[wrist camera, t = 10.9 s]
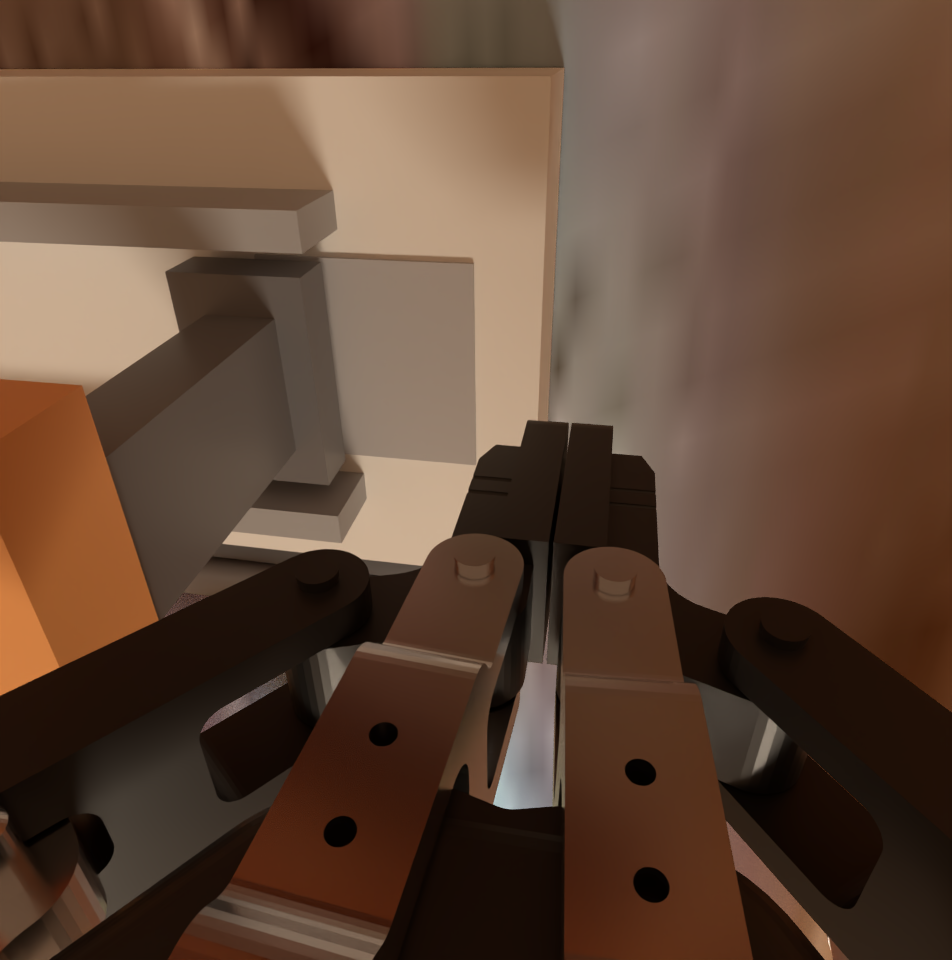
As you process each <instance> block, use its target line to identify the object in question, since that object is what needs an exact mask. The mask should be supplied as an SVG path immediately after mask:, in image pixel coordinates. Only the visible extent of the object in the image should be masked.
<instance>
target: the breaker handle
mask: <svg viewBox="0 0 952 960" xmlns="http://www.w3.org/2000/svg"><path fill="white" fill-rule="evenodd" d="M165 274H166V278H167V282H168V287H169V291H170V295H171V299H172V303H173V308H174V312H175V316H176V320H177V324H178V329H179V333H177V334H176V335H175V336H173V337H172V338H170V339H169V340H167V341H166V342H164V343H163V344H161V345H160V346H158V347H157V348H155V349H154V350H152V351H151V352H150V353H148V354H147V355H145V356H144V357H142V358H141V359H139V360H138V361H136V362H135V363H133V364H132V365H130V366H129V367H127V368H126V369H125V370H123V371H122V372H120V373H119V374H117V375H116V376H114V377H113V378H111V379H110V380H108V381H107V382H105V383H104V384H102V385H101V386H100V387H98V388H97V389H95V390H94V391H92V392H91V393H89V394H88V395H86V396H85V393H84V390H83V387H82V385H71V384H58V383H45V382H31V381H18V380H5V379H0V695H3V694H5V693H7V692H9V691H11V690H13V689H15V688H17V687H19V686H22V685H24V684H26V683H28V682H30V681H32V680H34V679H36V678H38V677H41V676H43V675H45V674H47V673H49V672H51V671H53V670H55V669H57V668H60V667H62V666H64V665H66V664H68V663H70V662H72V661H74V660H76V659H78V658H81V657H83V656H85V655H87V654H89V653H91V652H93V651H95V650H97V649H100V648H102V647H104V646H106V645H108V644H110V643H112V642H114V641H116V640H119V639H121V638H123V637H125V636H127V635H129V634H131V633H133V632H135V631H138V630H140V629H142V628H144V627H146V626H148V625H150V624H152V623H154V622H156V621H159V620H161V619H163V618H164V616H165V615H166V614H167V613H168V611H169V610H170V609H171V608H172V606H173V605H174V604H175V602H176V601H177V600H178V599H179V597H180V596H181V595H182V594H183V592H184V591H185V590H186V589H187V587H188V586H189V585H190V584H191V582H192V581H193V580H194V579H195V577H196V576H197V575H198V573H199V572H200V571H201V570H202V568H203V567H204V566H205V565H206V563H207V562H208V561H209V560H210V558H211V557H212V556H213V555H214V553H215V552H216V551H217V549H218V548H219V547H220V546H221V544H222V543H223V542H224V541H225V539H226V538H227V537H228V536H229V534H230V533H231V532H232V531H233V529H234V528H235V527H236V526H237V524H238V523H239V522H240V520H241V519H242V518H243V517H244V515H245V514H246V513H247V512H248V510H249V509H250V508H251V507H252V505H253V504H254V503H255V502H256V500H257V499H258V498H259V497H260V495H261V494H262V493H263V491H264V490H265V489H266V488H267V486H268V485H269V484H270V483H271V481H272V480H278V481H288V482H299V483H309V484H320V485H330V483H331V482H332V480H333V478H334V477H335V475H336V474H337V472H338V471H339V469H340V468H341V466H342V465H343V463H344V462H345V460H346V459H345V451H344V443H343V435H342V427H341V419H340V411H339V403H338V395H337V386H336V378H335V370H334V362H333V354H332V346H331V338H330V330H329V321H328V313H327V305H326V297H325V289H324V281H323V273H322V265H321V262H315V261H291V260H267V259H244V258H220V257H197V256H194V257H192V258H190V259H188V260H186V261H184V262H182V263H180V264H179V265H177V266H175V267H173V268H171V269H169V270H167V271H165Z"/></svg>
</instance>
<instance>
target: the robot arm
mask: <svg viewBox="0 0 952 960" xmlns="http://www.w3.org/2000/svg"><path fill="white" fill-rule="evenodd" d="M568 430H569V423H565V422H551V421H538V420H528V421H527V423H526V427H525V431H524V435H523V439H522V442H521V446H508V445H495V446H494V447H492V448H491V449H490V450H489V451H488V452H486V453H485V454H484V455H483V456H481V457H480V458H479V460H478V463H477V466H476V469H475V472H474V474H473V479H472V480H471V483H470V486H469V489H468V493H467V494H466V497H465V500H464V503H463V506H462V509H461V512H460V514H459V517H458V520H457V523H456V526H455V529H454V532H453V534H452V537H451V538H449V539H446V540H444V541H442V542H441V543H439V544H438V545H436V546H435V547H434V548H433V549H432V550H431V551H430V553H429V554H428V556H427V558H426V560H425V562H424V564H423V566H422V568H419V569H417V570H413V571H409V572H405V573H399V574H391V575H382V576H374V577H370V576H369V571H368V567H367V566H366V564H365V563H364V562H363V561H362V560H361V559H360V558H359V557H357V556H356V555H354V554H352V553H349V552H346V551H342V550H336V549H319V550H313V551H308V552H304V553H301V554H299V555H296V556H294V557H291V558H289V559H287V560H285V561H283V562H281V563H279V564H277V565H275V566H272V567H270V568H268V569H266V570H264V571H262V572H260V573H258V574H256V575H253V576H251V577H249V578H247V579H245V580H243V581H241V582H239V583H237V584H234V585H232V586H230V587H228V588H226V589H224V590H222V591H220V592H218V593H216V594H213V595H211V596H209V597H207V598H205V599H203V600H201V601H199V602H197V603H194V604H192V605H190V606H188V607H186V608H184V609H182V610H180V611H178V612H175V613H173V614H171V615H169V616H167V617H165V618H163V619H161V620H159V621H156V622H154V623H152V624H150V625H148V626H146V627H144V628H142V629H140V630H138V631H135V632H133V633H131V634H129V635H127V636H125V637H123V638H121V639H119V640H116V641H114V642H112V643H110V644H108V645H106V646H104V647H102V648H100V649H97V650H95V651H93V652H91V653H89V654H87V655H85V656H83V657H81V658H78V659H76V660H74V661H72V662H70V663H68V664H66V665H64V666H62V667H60V668H57V669H55V670H53V671H51V672H49V673H47V674H45V675H43V676H41V677H38V678H36V679H34V680H32V681H30V682H28V683H26V684H24V685H22V686H19V687H17V688H15V689H13V690H11V691H9V692H7V693H5V694H3V695H0V960H824V958H823V957H822V956H821V955H820V953H819V952H818V951H817V950H816V949H815V947H814V946H813V945H812V944H811V942H810V941H809V940H808V939H807V937H806V936H805V935H804V934H803V933H802V931H801V930H800V929H799V928H798V926H797V925H796V924H795V923H794V922H793V921H792V920H791V918H790V917H789V916H788V915H787V914H786V913H785V912H784V911H783V910H782V909H781V908H780V907H779V906H778V905H777V904H776V903H775V902H774V901H773V900H772V899H771V898H770V897H769V896H768V895H767V894H766V893H765V892H764V891H762V890H761V889H760V888H759V887H757V886H756V885H755V884H754V883H753V882H751V881H750V880H749V879H748V878H746V877H745V876H743V875H742V874H741V873H739V872H738V871H736V870H735V865H734V860H733V855H732V850H731V845H730V840H729V835H728V830H727V824H726V821H727V822H728V823H729V824H730V825H731V826H732V828H733V829H734V830H735V831H736V832H737V833H738V834H739V836H740V837H741V838H742V839H743V840H744V841H745V842H746V843H747V845H748V846H749V847H750V848H751V849H752V850H753V851H754V853H755V854H756V855H757V856H758V857H759V858H760V859H761V861H762V862H763V863H764V864H765V865H766V866H767V867H768V868H769V870H770V871H771V872H772V873H773V874H774V875H775V876H776V878H777V879H778V880H779V881H780V882H781V883H782V884H783V886H784V887H785V888H786V889H787V890H788V891H789V892H790V893H791V895H792V896H793V897H794V898H795V899H796V900H797V901H798V903H799V904H800V905H801V906H802V907H803V908H804V909H805V911H806V912H807V913H808V914H809V915H810V916H811V917H812V918H813V920H814V921H815V922H816V923H817V924H818V925H819V926H820V928H821V929H822V930H823V931H824V932H825V933H826V934H827V938H828V943H829V946H830V949H831V951H832V956H833V960H952V712H950V711H949V710H948V709H946V708H945V707H943V706H942V705H941V704H939V703H938V702H937V701H935V700H934V699H933V698H931V697H930V696H929V695H927V694H926V693H925V692H923V691H922V690H921V689H919V688H918V687H917V686H915V685H914V684H913V683H911V682H910V681H908V680H907V679H906V678H904V677H903V676H902V675H900V674H899V673H898V672H896V671H895V670H894V669H892V668H891V667H890V666H888V665H887V664H886V663H884V662H883V661H882V660H880V659H879V658H878V657H876V656H875V655H873V654H872V653H871V652H869V651H868V650H867V649H865V648H864V647H863V646H861V645H860V644H859V643H857V642H856V641H855V640H853V639H852V638H851V637H849V636H848V635H847V634H845V633H844V632H843V631H841V630H840V629H838V628H837V627H836V626H834V625H833V624H832V623H830V622H829V621H828V620H826V619H825V618H824V617H822V616H821V615H819V614H818V613H816V612H815V611H813V610H811V609H809V608H807V607H805V606H803V605H800V604H798V603H795V602H792V601H788V600H784V599H779V598H769V597H761V598H752V599H748V600H745V601H742V602H740V603H738V604H736V605H735V606H733V607H732V608H731V609H730V610H729V612H728V613H727V615H726V614H723V613H720V612H717V611H714V610H711V609H708V608H705V607H702V606H700V605H697V604H695V603H693V602H691V601H689V600H687V599H685V598H684V597H682V596H681V595H679V594H678V593H677V592H675V591H674V590H673V589H672V588H671V587H670V586H669V585H668V584H667V582H666V578H665V575H664V573H663V572H662V570H661V569H660V568H659V556H658V534H657V512H656V495H655V491H656V490H655V473H654V471H653V470H652V469H651V468H650V466H649V465H648V464H647V462H646V461H645V460H644V459H643V457H642V456H634V455H622V454H612V440H613V426H607V425H593V424H580V423H572V425H571V432H570V438H569V445H568ZM567 447H568V452H567ZM549 612H550V614H549ZM548 620H549V632H548V649H547V664H553V665H557V678H556V692H555V707H554V749H553V800H552V807H541V808H529V809H516V810H510V809H503V808H500V807H497V806H495V805H493V802H494V798H495V794H496V790H497V787H498V783H499V779H500V775H501V772H502V768H503V764H504V760H505V756H506V753H507V749H508V745H509V741H510V738H511V734H512V730H513V726H514V723H515V719H516V715H517V711H518V707H519V702H520V689H521V687H522V686H523V683H524V679H525V673H526V667H527V662H535V663H542V662H543V655H544V648H545V641H546V634H547V627H548ZM285 671H286V676H287V681H288V683H287V684H285V685H283V686H282V687H280V688H278V689H276V690H275V691H273V692H271V693H270V694H268V695H266V696H264V697H263V698H261V699H259V700H257V701H256V702H254V703H252V704H251V705H249V706H247V707H245V708H244V709H242V710H240V711H238V712H237V713H235V714H233V715H232V716H230V717H228V718H226V719H225V720H223V721H221V722H220V723H218V724H216V725H214V726H213V727H211V728H209V729H207V730H206V731H204V732H202V733H201V730H202V728H203V726H204V724H205V723H206V721H207V720H208V719H209V718H210V717H211V716H212V715H213V714H214V713H215V712H216V711H218V710H219V709H221V708H222V707H224V706H226V705H228V704H229V703H231V702H233V701H235V700H236V699H238V698H240V697H242V696H243V695H245V694H247V693H249V692H250V691H252V690H254V689H256V688H257V687H259V686H261V685H263V684H264V683H266V682H268V681H270V680H271V679H273V678H275V677H277V676H278V675H280V674H282V673H284V672H285ZM808 755H809V756H810V757H811V758H813V759H814V760H815V761H816V762H817V763H818V764H819V765H820V766H821V767H822V768H823V769H824V770H825V771H826V772H828V773H829V774H830V775H831V776H832V777H833V778H834V779H835V780H836V781H837V782H838V783H839V784H840V785H842V786H843V787H844V788H845V789H846V790H847V791H848V792H849V793H850V794H851V795H852V796H853V797H854V798H855V799H857V800H858V801H859V802H860V803H861V804H862V805H863V806H864V807H865V808H866V809H867V810H866V809H865V808H864V807H863V806H862V805H861V804H860V803H859V802H857V801H856V800H855V799H854V798H853V797H852V796H851V795H850V794H849V793H848V792H847V791H846V790H845V789H844V788H842V787H841V786H840V785H839V784H838V783H837V782H836V781H835V780H834V779H833V778H832V777H831V776H830V775H829V774H827V773H826V772H825V771H824V770H823V769H822V768H821V767H820V766H819V765H818V764H817V763H816V762H815V761H814V760H812V759H811V758H810V757H809V756H808Z"/></svg>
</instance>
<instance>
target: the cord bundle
mask: <svg viewBox="0 0 952 960" xmlns="http://www.w3.org/2000/svg"><path fill="white" fill-rule="evenodd" d="M299 554H301V552H292V551H283V550H274V549H265V548H256V547H247V546H238V545H229V544H221V546H220V547H219V548H218V549H217V551H216V552H215V553H214V555H213V556H212V557H211V558H210V560H209V561H208V562H207V563H206V565H205V566H204V567H203V568H202V570H201V571H200V572H199V573H198V575H197V576H196V577H195V579H194V580H193V581H192V582H191V584H190V585H189V586H188V587H187V589H186V590H185V591H184V592H183V593H190V594H198V595H206V596H211V595H213V594H216V593H218V592H220V591H222V590H224V589H226V588H228V587H230V586H232V585H234V584H237V583H239V582H241V581H243V580H245V579H247V578H249V577H251V576H253V575H256V574H258V573H260V572H262V571H264V570H266V569H268V568H270V567H272V566H275V565H277V564H279V563H281V562H283V561H285V560H287V559H289V558H291V557H294V556H296V555H299ZM361 560H362V561H363V562H364V563H365V564H366V566H367V567H368V571H369V576H370V577H374V576H382V575H391V574H399V573H405V572H409V571H413V570H417V569H419V568H422V566H418V565H409V564H400V563H391V562H382V561H373V560H364V559H361Z"/></svg>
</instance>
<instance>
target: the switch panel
mask: <svg viewBox="0 0 952 960" xmlns="http://www.w3.org/2000/svg"><path fill="white" fill-rule="evenodd" d="M563 88H564V68H263V69H0V379H5V380H18V381H31V382H45V383H58V384H71V385H82V387H83V390H84V393H85V396H86V395H88V394H89V393H91V392H92V391H94V390H95V389H97V388H98V387H100V386H101V385H102V384H104V383H105V382H107V381H108V380H110V379H111V378H113V377H114V376H116V375H117V374H119V373H120V372H122V371H123V370H125V369H126V368H127V367H129V366H130V365H132V364H133V363H135V362H136V361H138V360H139V359H141V358H142V357H144V356H145V355H147V354H148V353H150V352H151V351H152V350H154V349H155V348H157V347H158V346H160V345H161V344H163V343H164V342H166V341H167V340H169V339H170V338H172V337H173V336H175V335H176V334H177V333H179V329H178V324H177V320H176V316H175V312H174V308H173V303H172V299H171V295H170V291H169V287H168V282H167V278H166V274H165V271H167V270H169V269H171V268H173V267H175V266H177V265H179V264H180V263H182V262H184V261H186V260H188V259H190V258H192V257H194V256H197V257H220V258H244V259H267V260H291V261H315V262H321V265H322V273H323V281H324V289H325V297H326V305H327V313H328V321H329V330H330V338H331V346H332V354H333V362H334V370H335V378H336V386H337V395H338V403H339V411H340V419H341V427H342V435H343V443H344V451H345V459H346V460H345V462H344V463H343V465H342V466H341V468H340V469H339V471H338V472H337V474H336V475H335V477H334V478H333V480H332V482H331V483H330V485H320V484H309V483H299V482H288V481H278V480H272V481H271V483H270V484H269V485H268V486H267V488H266V489H265V490H264V491H263V493H262V494H261V495H260V497H259V498H258V499H257V500H256V502H255V503H254V504H253V505H252V507H251V508H250V509H249V510H248V512H247V513H246V514H245V515H244V517H243V518H242V519H241V520H240V522H239V523H238V524H237V526H236V527H235V528H234V529H233V531H232V532H231V533H230V534H229V536H228V537H227V538H226V539H225V541H224V542H223V543H222V544H229V545H238V546H247V547H256V548H265V549H274V550H283V551H292V552H301V553H304V552H308V551H313V550H319V549H336V550H342V551H346V552H349V553H352V554H354V555H356V556H357V557H359V558H360V559H364V560H373V561H382V562H391V563H400V564H409V565H418V566H423V564H424V562H425V560H426V558H427V556H428V554H429V553H430V551H431V550H432V549H433V548H434V547H435V546H436V545H438V544H439V543H441V542H442V541H444V540H446V539H449V538H451V537H452V534H453V532H454V529H455V526H456V523H457V520H458V517H459V514H460V512H461V509H462V506H463V503H464V500H465V497H466V494H467V493H468V489H469V486H470V483H471V480H472V479H473V474H474V472H475V469H476V466H477V463H478V460H479V458H480V457H481V456H483V455H484V454H485V453H486V452H488V451H489V450H490V449H491V448H492V447H494V446H495V445H508V446H521V442H522V439H523V435H524V431H525V427H526V423H527V421H528V420H538V421H548V407H549V386H550V365H551V343H552V322H553V301H554V279H555V258H556V237H557V215H558V194H559V173H560V152H561V130H562V109H563Z"/></svg>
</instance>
